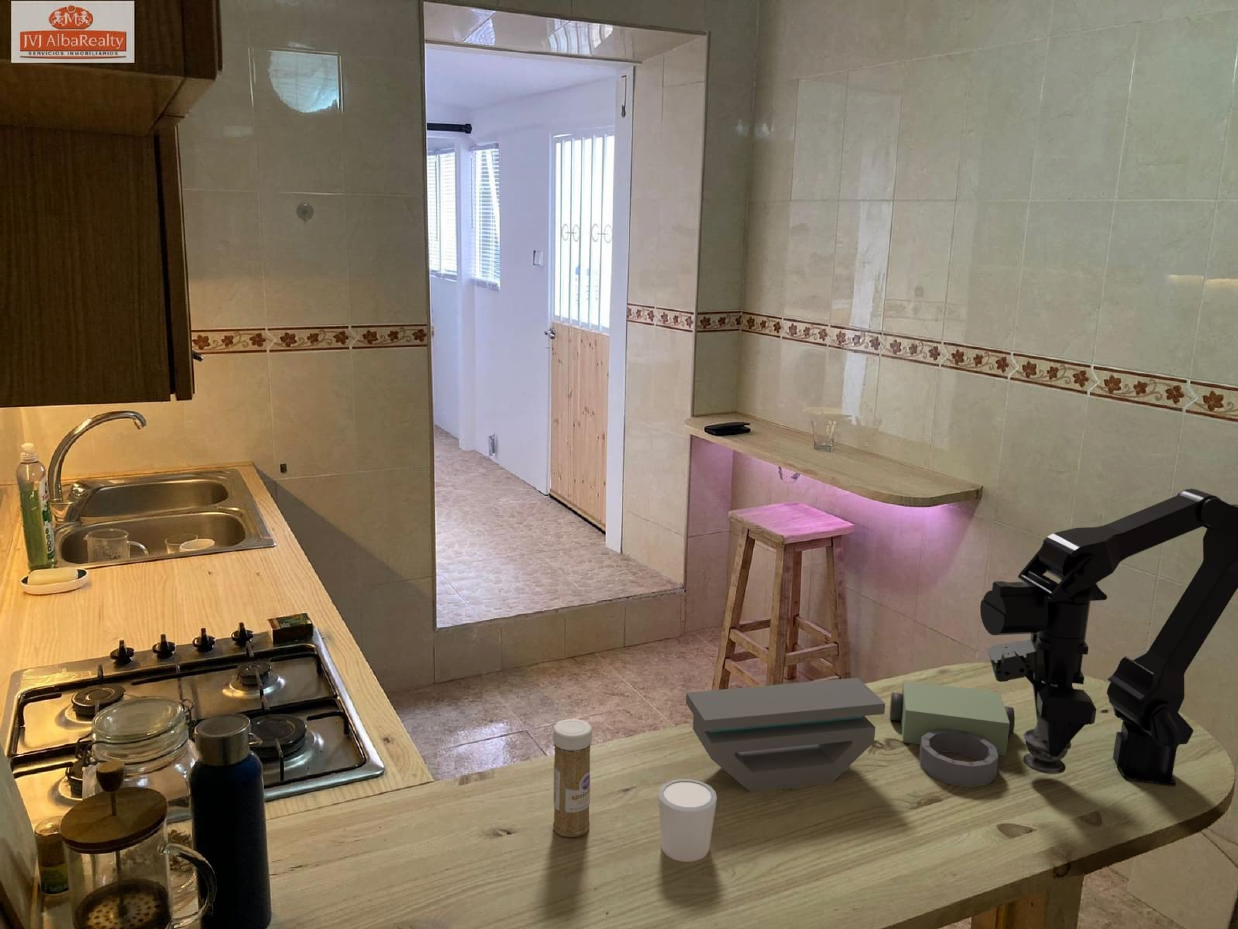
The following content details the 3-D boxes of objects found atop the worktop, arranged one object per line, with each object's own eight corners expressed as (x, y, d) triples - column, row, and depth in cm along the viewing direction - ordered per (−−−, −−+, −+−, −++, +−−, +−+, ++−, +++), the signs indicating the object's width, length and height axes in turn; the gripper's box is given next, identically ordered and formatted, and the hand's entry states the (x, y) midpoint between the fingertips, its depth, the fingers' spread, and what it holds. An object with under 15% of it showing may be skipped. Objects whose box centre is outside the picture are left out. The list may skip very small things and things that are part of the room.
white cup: (697, 872, 109) (700, 817, 108) (645, 852, 113) (647, 798, 111) (724, 842, 115) (727, 789, 113) (673, 823, 118) (675, 771, 117)
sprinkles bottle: (582, 842, 114) (584, 738, 111) (546, 834, 115) (547, 732, 112) (595, 821, 118) (597, 720, 115) (560, 813, 120) (561, 714, 117)
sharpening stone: (852, 748, 137) (857, 677, 135) (878, 777, 130) (885, 703, 127) (683, 766, 131) (686, 692, 129) (700, 797, 124) (704, 720, 122)
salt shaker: (1073, 777, 126) (1085, 693, 124) (1026, 773, 127) (1037, 689, 125) (1061, 754, 132) (1072, 673, 129) (1016, 750, 133) (1026, 670, 130)
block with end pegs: (1007, 724, 145) (1011, 693, 144) (1029, 795, 126) (1033, 760, 125) (889, 709, 149) (892, 679, 148) (893, 776, 130) (896, 742, 129)
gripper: (987, 599, 136) (975, 700, 140) (1006, 651, 118) (992, 766, 122) (1072, 607, 134) (1058, 711, 137) (1104, 662, 116) (1087, 779, 119)
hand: (1047, 739), depth 129 cm, fingers closed on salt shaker, 8 cm apart
